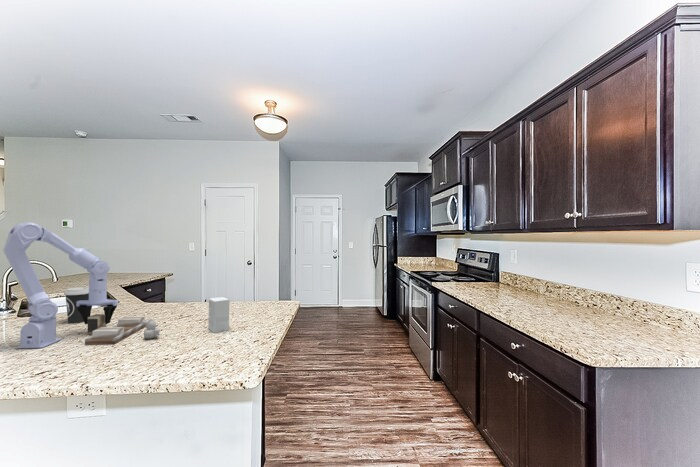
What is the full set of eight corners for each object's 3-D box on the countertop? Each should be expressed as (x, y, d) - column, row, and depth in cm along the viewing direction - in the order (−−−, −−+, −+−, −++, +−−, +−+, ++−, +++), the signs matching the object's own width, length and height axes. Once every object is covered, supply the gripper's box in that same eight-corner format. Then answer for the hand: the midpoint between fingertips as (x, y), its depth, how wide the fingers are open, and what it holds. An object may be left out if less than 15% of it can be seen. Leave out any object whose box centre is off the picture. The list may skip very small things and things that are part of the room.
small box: (229, 330, 136) (229, 299, 136) (213, 333, 132) (214, 301, 132) (223, 326, 142) (223, 296, 142) (207, 328, 138) (208, 298, 138)
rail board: (114, 344, 117) (115, 332, 117) (84, 344, 116) (85, 333, 116) (150, 324, 143) (150, 314, 143) (125, 324, 142) (126, 315, 142)
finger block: (97, 335, 127) (97, 317, 127) (86, 335, 127) (86, 317, 127) (106, 330, 133) (106, 313, 133) (95, 331, 132) (96, 314, 132)
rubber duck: (151, 335, 128) (151, 315, 128) (164, 337, 126) (165, 316, 126) (139, 339, 122) (139, 318, 123) (153, 341, 121) (153, 320, 121)
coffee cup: (78, 324, 141) (79, 290, 141) (57, 324, 141) (58, 290, 141) (96, 319, 150) (97, 287, 150) (76, 318, 150) (77, 286, 151)
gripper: (122, 288, 135) (122, 320, 135) (85, 288, 133) (84, 321, 133) (112, 291, 128) (112, 325, 128) (72, 291, 126) (72, 326, 126)
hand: (97, 323), depth 130 cm, fingers open, 7 cm apart
